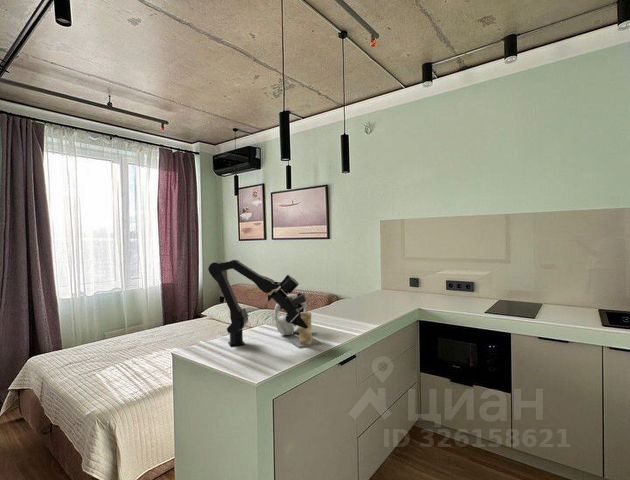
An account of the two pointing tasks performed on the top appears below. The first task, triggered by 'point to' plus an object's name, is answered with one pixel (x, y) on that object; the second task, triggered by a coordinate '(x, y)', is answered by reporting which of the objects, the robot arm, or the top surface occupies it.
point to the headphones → (283, 324)
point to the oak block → (306, 333)
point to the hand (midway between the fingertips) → (308, 325)
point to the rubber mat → (297, 344)
